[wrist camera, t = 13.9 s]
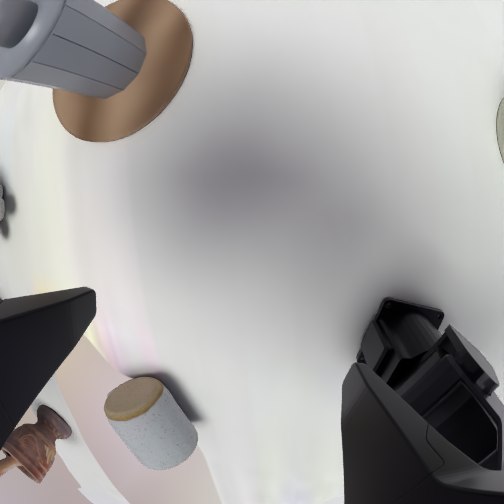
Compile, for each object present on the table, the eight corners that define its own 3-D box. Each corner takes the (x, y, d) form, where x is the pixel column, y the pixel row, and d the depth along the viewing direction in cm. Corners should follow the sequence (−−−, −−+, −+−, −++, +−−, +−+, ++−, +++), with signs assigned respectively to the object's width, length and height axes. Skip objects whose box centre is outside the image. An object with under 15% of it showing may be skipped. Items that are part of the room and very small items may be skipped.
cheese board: (216, 3, 17) (203, -23, 13) (175, 152, 21) (150, 149, 17) (90, 14, 18) (66, 0, 13) (55, 138, 22) (24, 138, 18)
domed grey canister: (142, 16, 16) (43, -56, 4) (150, 79, 18) (22, 21, 5) (80, 49, 17) (-28, 14, 5) (84, 110, 19) (-45, 97, 6)
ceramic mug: (171, 367, 26) (138, 422, 18) (206, 421, 28) (187, 474, 20) (101, 375, 28) (67, 416, 21) (136, 422, 30) (112, 464, 23)
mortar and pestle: (58, 438, 37) (13, 502, 18) (28, 407, 36) (-24, 467, 17) (81, 434, 34) (28, 513, 15) (45, 397, 33) (-19, 472, 14)
